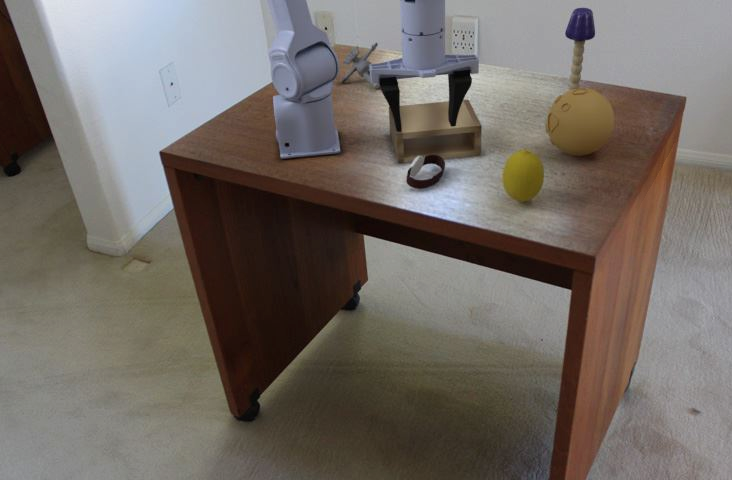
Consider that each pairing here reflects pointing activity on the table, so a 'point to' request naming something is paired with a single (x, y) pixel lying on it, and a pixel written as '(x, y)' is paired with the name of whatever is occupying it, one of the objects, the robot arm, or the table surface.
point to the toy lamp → (579, 40)
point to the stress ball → (580, 121)
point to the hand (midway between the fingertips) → (425, 126)
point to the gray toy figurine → (360, 65)
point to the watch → (417, 167)
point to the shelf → (435, 132)
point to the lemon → (523, 175)
